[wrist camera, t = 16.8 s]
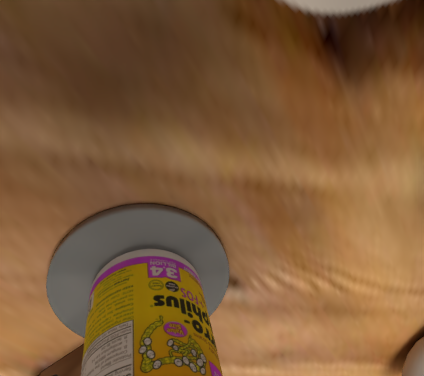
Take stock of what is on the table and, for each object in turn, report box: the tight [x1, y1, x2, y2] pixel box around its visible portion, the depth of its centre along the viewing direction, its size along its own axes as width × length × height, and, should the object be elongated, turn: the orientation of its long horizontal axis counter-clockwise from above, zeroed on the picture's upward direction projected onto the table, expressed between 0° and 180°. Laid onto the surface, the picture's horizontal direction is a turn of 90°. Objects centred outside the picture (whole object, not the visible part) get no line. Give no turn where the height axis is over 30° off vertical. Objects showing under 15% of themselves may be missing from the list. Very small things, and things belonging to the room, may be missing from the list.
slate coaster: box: [46, 204, 229, 338], centre depth 24 cm, size 11×11×1 cm
